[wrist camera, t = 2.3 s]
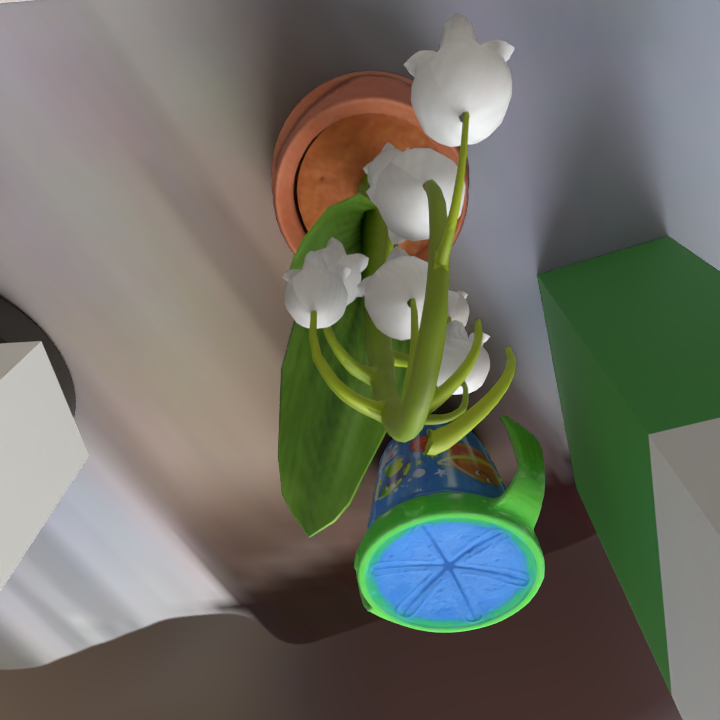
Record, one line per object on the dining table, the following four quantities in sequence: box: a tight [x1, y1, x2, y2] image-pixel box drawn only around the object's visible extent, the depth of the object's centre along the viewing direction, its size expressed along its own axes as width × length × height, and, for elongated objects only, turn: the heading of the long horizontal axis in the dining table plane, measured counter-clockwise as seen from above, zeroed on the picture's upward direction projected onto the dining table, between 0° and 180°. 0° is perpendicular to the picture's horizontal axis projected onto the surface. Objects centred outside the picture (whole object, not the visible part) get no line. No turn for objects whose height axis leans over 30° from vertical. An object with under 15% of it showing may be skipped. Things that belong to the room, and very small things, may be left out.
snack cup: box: [354, 416, 545, 632], centre depth 36 cm, size 16×10×10 cm
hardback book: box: [537, 236, 720, 720], centre depth 26 cm, size 18×7×24 cm, turn 18°
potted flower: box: [271, 13, 516, 538], centre depth 19 cm, size 12×10×25 cm
